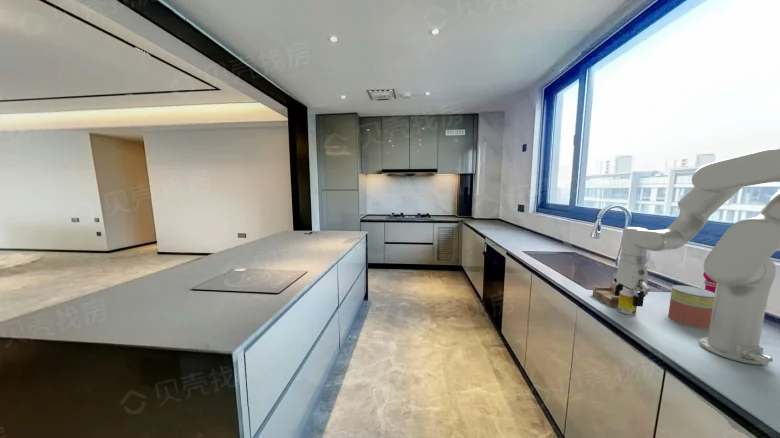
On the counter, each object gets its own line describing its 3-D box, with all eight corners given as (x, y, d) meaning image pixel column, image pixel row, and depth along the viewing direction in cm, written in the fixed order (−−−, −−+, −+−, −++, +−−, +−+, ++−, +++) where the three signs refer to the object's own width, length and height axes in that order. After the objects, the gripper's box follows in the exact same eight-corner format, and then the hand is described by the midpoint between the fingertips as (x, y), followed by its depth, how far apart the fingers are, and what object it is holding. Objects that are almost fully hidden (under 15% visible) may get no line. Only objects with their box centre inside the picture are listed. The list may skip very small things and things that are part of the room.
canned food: (722, 331, 95) (727, 298, 94) (683, 327, 98) (688, 295, 96) (694, 316, 106) (698, 286, 105) (660, 313, 108) (663, 284, 107)
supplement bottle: (635, 316, 105) (638, 291, 104) (616, 312, 109) (619, 287, 108) (636, 312, 109) (639, 287, 108) (618, 307, 113) (621, 284, 112)
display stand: (630, 307, 113) (632, 291, 112) (610, 306, 114) (611, 290, 113) (611, 296, 125) (612, 281, 124) (592, 295, 126) (593, 280, 125)
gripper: (662, 265, 97) (656, 311, 99) (627, 253, 114) (622, 292, 116) (639, 264, 98) (634, 309, 100) (607, 253, 115) (603, 292, 117)
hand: (628, 300), depth 108 cm, fingers open, 9 cm apart
